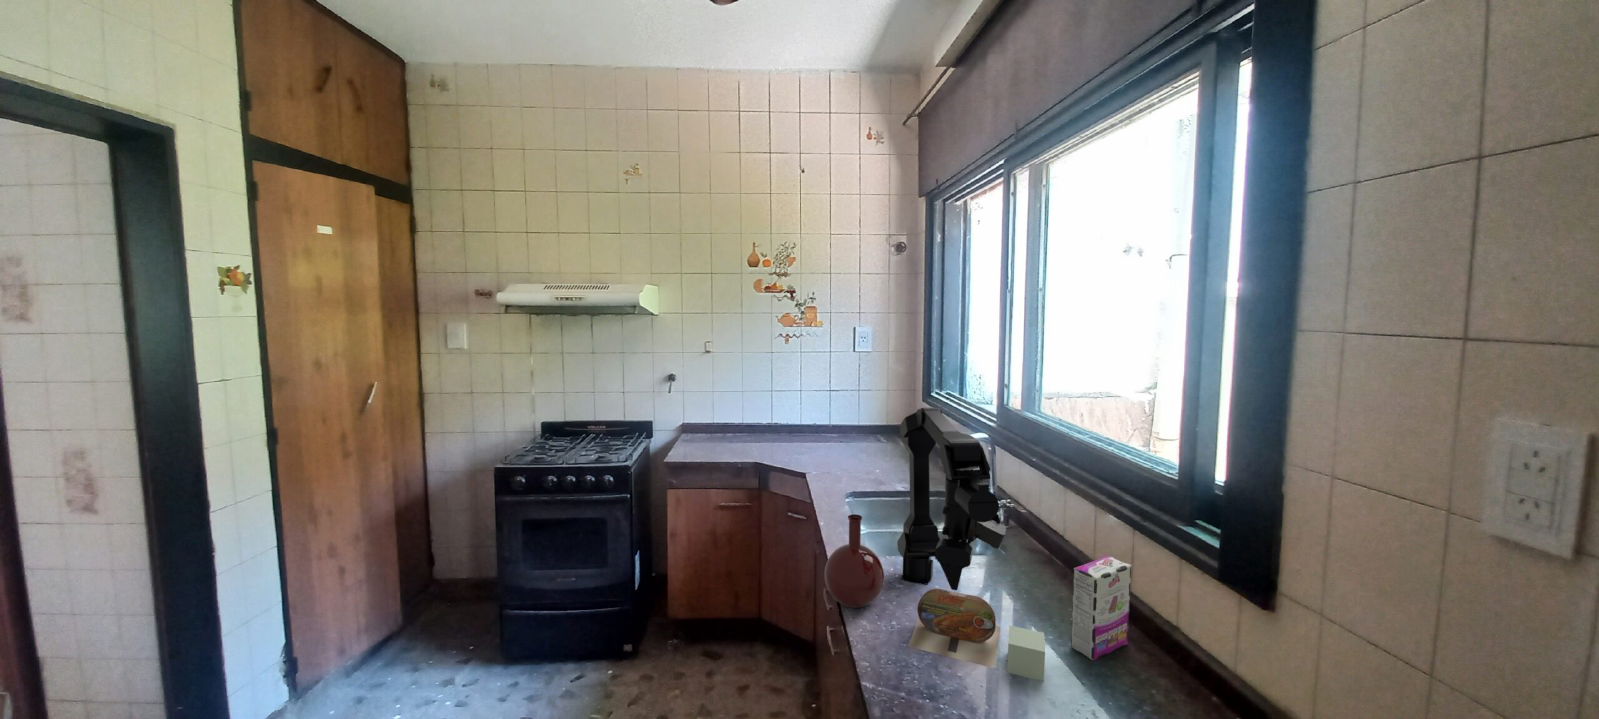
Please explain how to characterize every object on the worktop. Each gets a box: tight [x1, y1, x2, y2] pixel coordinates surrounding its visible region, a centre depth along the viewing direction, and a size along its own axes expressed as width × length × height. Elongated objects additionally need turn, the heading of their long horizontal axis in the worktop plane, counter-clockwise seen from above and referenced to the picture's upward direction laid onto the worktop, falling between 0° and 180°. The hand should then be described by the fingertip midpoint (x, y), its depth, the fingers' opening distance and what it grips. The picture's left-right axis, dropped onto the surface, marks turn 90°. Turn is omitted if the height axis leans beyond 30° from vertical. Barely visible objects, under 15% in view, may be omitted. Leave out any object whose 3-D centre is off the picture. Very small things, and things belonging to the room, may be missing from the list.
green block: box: [1006, 625, 1046, 682], centre depth 97 cm, size 6×6×6 cm
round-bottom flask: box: [824, 513, 885, 609], centre depth 118 cm, size 13×13×20 cm
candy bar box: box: [1070, 555, 1132, 661], centre depth 103 cm, size 11×5×16 cm, turn 117°
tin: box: [916, 588, 997, 643], centre depth 106 cm, size 15×3×8 cm, turn 66°
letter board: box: [908, 618, 1001, 669], centre depth 106 cm, size 16×14×1 cm
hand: (957, 578), depth 105 cm, fingers open, 9 cm apart
